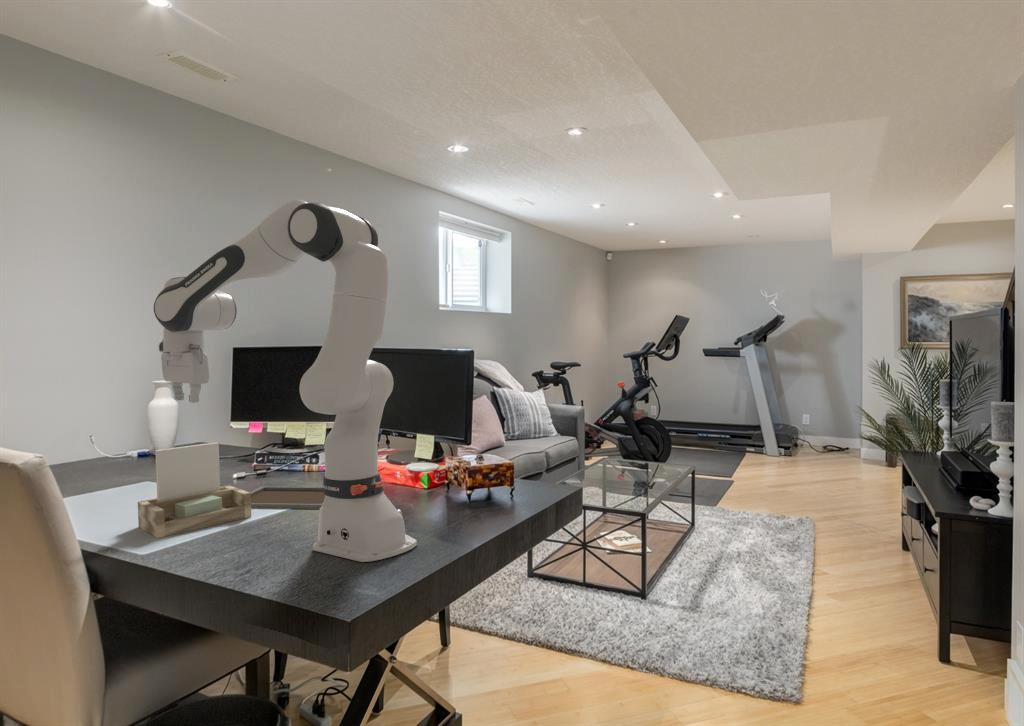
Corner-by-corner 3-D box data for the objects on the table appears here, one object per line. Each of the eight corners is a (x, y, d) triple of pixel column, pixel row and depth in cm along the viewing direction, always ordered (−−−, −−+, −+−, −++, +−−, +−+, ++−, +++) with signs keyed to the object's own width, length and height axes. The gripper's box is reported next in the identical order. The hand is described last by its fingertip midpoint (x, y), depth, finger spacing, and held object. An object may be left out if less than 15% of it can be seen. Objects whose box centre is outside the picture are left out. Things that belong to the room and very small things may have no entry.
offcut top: (222, 509, 149) (221, 497, 149) (185, 519, 142) (184, 506, 142) (212, 507, 152) (211, 495, 152) (175, 516, 144) (174, 503, 144)
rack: (251, 516, 152) (250, 492, 152) (157, 538, 136) (156, 511, 136) (229, 507, 160) (228, 485, 160) (138, 526, 145) (137, 501, 145)
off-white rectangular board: (221, 513, 155) (218, 442, 155) (160, 526, 145) (157, 451, 144) (218, 512, 157) (216, 442, 156) (158, 525, 146) (155, 450, 145)
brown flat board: (324, 504, 158) (214, 503, 161) (325, 511, 158) (215, 509, 161) (351, 487, 177) (252, 486, 180) (351, 492, 177) (252, 491, 180)
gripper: (215, 344, 144) (217, 402, 145) (182, 344, 158) (184, 397, 159) (187, 344, 140) (189, 405, 140) (155, 345, 154) (157, 400, 154)
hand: (186, 401), depth 150 cm, fingers open, 8 cm apart
